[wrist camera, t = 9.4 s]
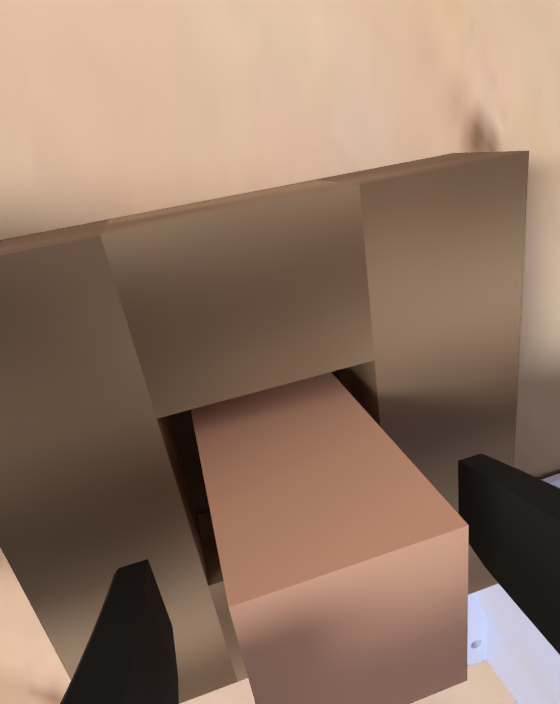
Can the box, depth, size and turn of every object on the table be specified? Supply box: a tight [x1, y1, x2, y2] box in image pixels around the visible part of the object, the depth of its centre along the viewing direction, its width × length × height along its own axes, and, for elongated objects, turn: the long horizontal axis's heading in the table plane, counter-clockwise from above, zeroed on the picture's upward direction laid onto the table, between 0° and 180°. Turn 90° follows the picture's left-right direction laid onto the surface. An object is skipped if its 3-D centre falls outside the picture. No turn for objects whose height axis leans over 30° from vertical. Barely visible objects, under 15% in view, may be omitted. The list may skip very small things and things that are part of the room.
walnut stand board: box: [0, 151, 529, 704], centre depth 14 cm, size 14×14×3 cm
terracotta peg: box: [191, 372, 469, 704], centre depth 12 cm, size 4×4×8 cm
